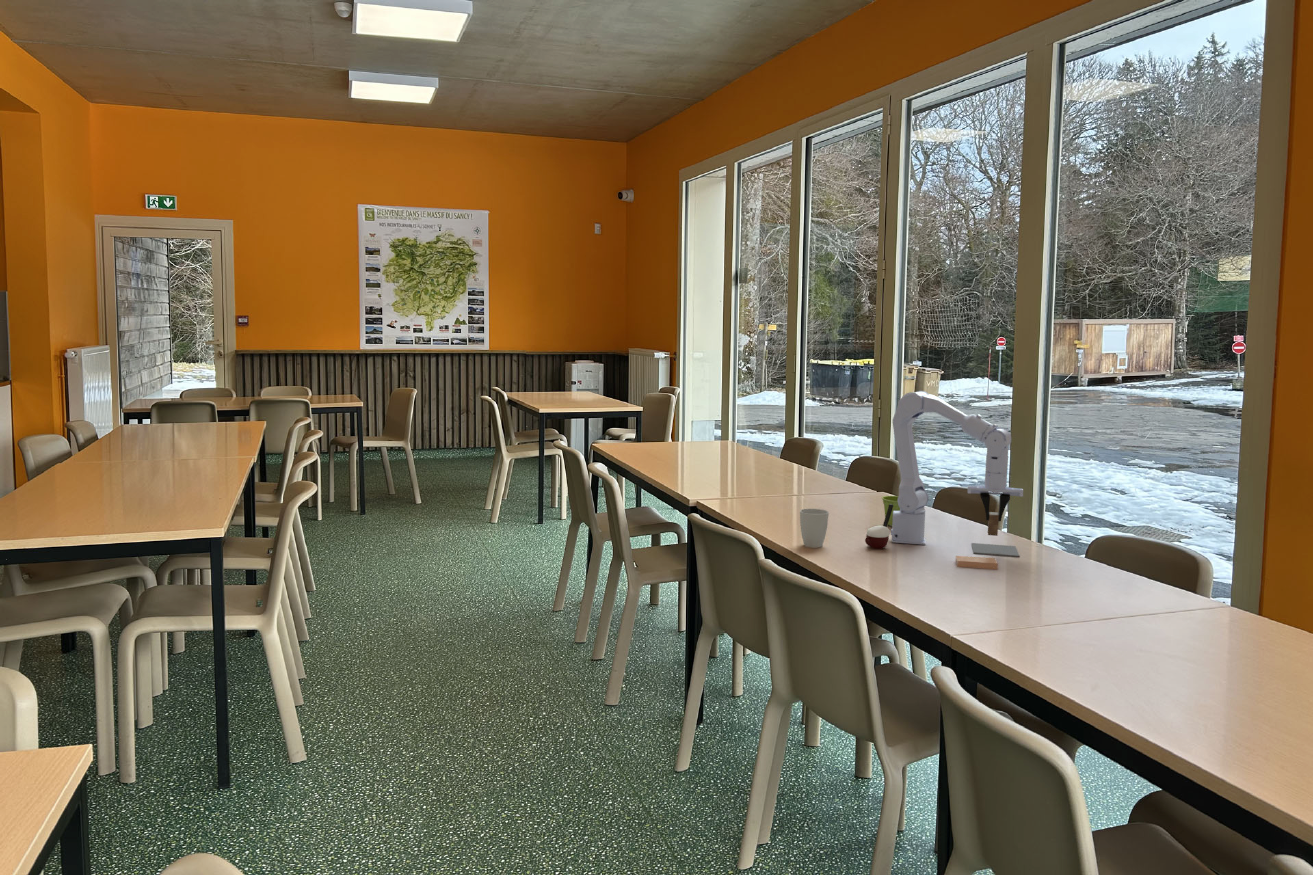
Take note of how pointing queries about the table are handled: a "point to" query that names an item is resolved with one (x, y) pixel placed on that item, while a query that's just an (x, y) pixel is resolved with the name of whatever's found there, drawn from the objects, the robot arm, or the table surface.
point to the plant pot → (886, 502)
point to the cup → (813, 526)
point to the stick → (993, 523)
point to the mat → (995, 550)
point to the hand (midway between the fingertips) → (993, 520)
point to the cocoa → (879, 533)
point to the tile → (976, 562)
